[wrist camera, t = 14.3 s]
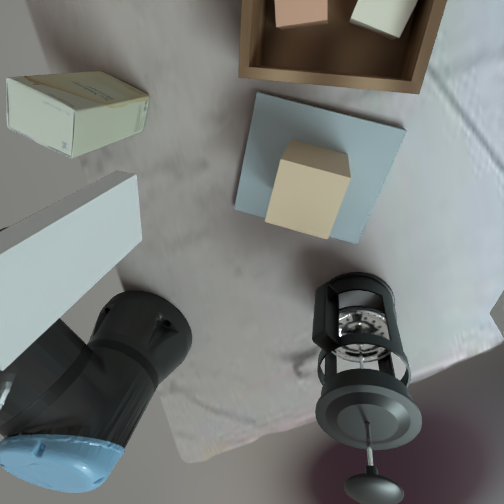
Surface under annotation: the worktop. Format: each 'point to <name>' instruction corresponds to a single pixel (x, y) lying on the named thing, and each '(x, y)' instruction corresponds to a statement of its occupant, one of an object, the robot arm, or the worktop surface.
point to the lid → (314, 167)
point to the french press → (363, 381)
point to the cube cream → (383, 16)
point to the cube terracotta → (300, 13)
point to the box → (338, 49)
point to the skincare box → (74, 110)
